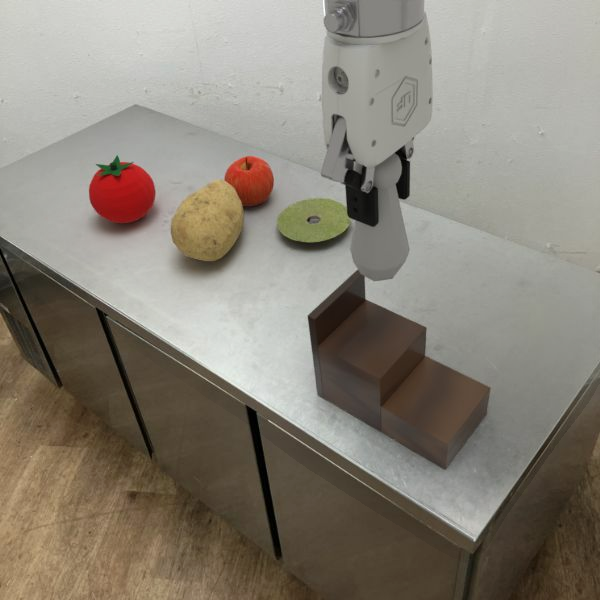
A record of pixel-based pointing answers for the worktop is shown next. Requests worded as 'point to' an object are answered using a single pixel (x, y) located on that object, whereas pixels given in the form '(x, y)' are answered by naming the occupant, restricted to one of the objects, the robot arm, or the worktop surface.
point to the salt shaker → (382, 227)
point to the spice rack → (391, 375)
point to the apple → (250, 180)
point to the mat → (313, 220)
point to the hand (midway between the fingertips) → (378, 205)
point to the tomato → (121, 191)
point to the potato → (208, 222)
